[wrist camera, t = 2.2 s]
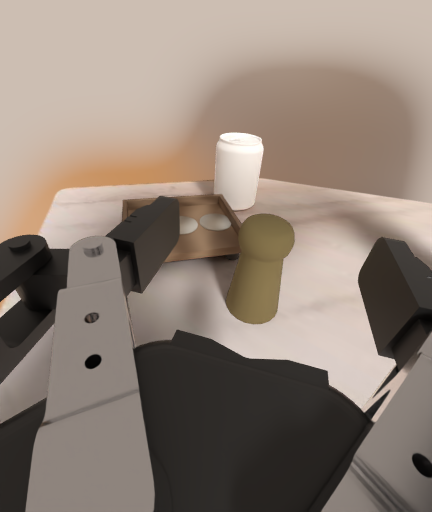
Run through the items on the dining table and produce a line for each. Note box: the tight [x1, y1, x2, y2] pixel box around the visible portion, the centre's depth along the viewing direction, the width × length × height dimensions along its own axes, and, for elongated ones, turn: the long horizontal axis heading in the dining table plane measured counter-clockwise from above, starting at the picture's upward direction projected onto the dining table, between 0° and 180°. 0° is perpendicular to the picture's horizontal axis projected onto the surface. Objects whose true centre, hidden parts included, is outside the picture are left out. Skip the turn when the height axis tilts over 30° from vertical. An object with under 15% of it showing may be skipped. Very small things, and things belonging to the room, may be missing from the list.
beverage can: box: [214, 133, 264, 210], centre depth 46 cm, size 8×8×12 cm
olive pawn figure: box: [226, 214, 294, 324], centre depth 26 cm, size 6×6×11 cm
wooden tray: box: [122, 194, 242, 262], centre depth 37 cm, size 16×13×4 cm
